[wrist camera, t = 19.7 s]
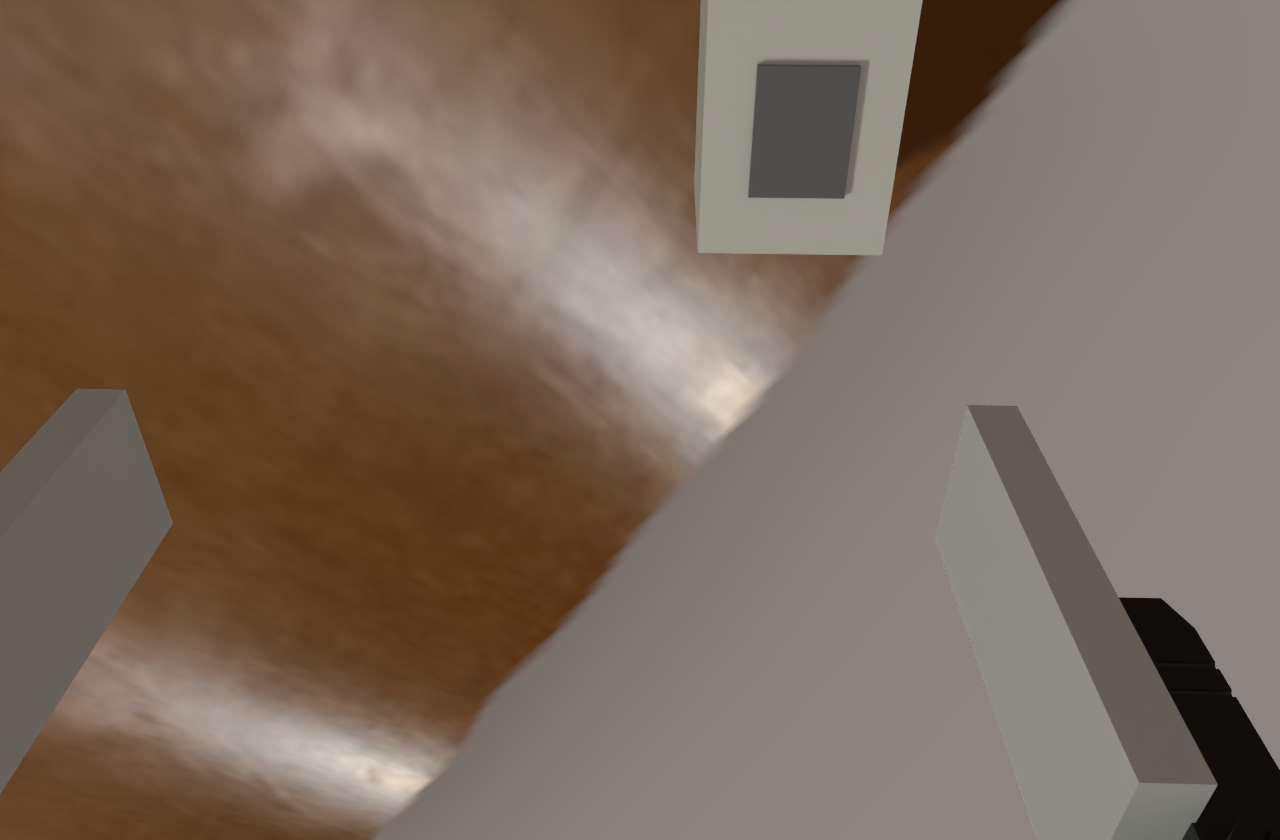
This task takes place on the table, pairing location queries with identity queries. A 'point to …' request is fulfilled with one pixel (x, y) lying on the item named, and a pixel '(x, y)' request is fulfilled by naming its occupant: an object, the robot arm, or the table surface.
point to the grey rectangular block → (800, 123)
